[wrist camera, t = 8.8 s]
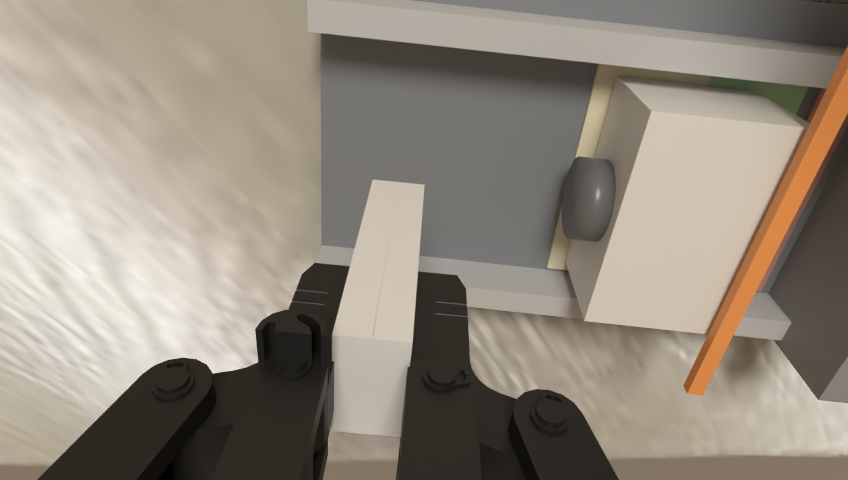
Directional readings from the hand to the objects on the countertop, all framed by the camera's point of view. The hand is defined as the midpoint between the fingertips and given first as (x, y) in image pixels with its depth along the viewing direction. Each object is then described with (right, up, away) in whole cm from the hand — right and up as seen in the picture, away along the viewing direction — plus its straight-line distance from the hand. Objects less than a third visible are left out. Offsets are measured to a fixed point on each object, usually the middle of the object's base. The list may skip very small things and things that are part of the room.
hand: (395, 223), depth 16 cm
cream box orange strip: (+9, +2, +5) cm, 11 cm away
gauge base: (+8, +3, +6) cm, 10 cm away
